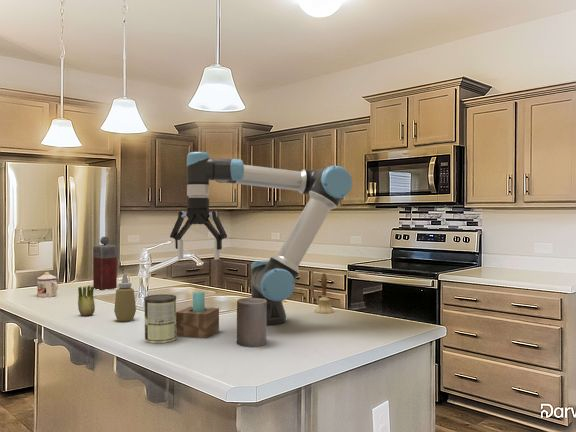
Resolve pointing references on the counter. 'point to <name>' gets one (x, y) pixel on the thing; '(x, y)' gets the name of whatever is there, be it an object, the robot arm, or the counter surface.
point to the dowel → (198, 302)
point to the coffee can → (160, 318)
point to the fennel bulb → (86, 301)
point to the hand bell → (324, 298)
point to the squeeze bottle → (125, 301)
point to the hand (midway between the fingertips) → (198, 259)
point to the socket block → (197, 322)
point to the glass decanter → (104, 265)
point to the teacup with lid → (47, 285)
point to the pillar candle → (251, 321)
